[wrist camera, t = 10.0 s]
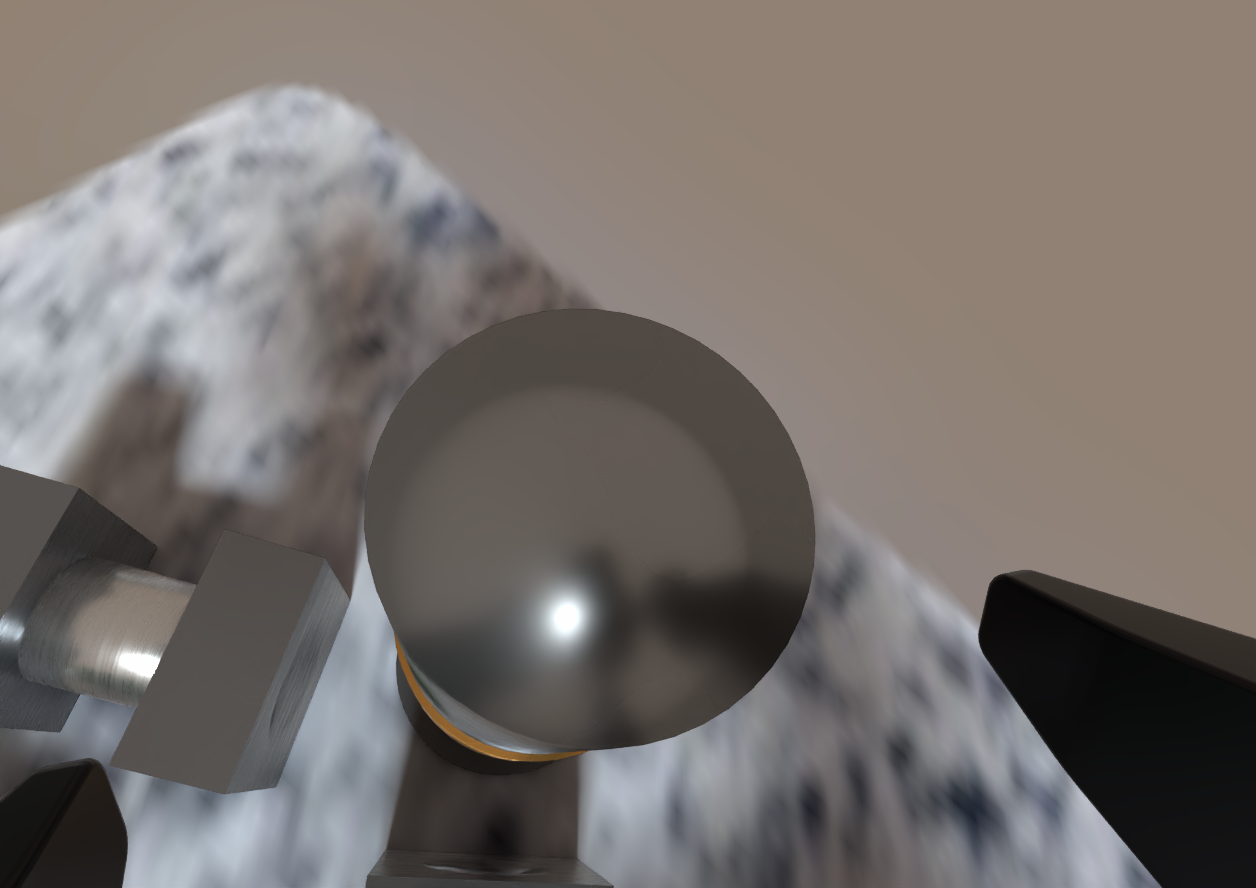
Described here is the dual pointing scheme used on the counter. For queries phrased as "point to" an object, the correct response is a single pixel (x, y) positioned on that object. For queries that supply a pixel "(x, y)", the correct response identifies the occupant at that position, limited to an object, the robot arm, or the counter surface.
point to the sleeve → (585, 535)
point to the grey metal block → (479, 871)
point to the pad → (448, 746)
